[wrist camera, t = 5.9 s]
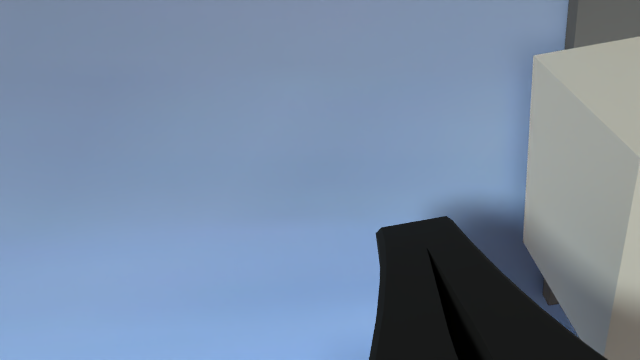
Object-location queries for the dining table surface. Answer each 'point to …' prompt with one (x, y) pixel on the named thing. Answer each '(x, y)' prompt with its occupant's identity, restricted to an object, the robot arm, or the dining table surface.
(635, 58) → the block
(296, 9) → the dining table surface
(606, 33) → the mat
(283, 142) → the dining table surface
